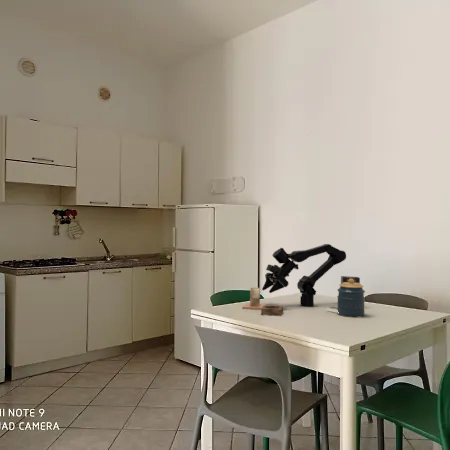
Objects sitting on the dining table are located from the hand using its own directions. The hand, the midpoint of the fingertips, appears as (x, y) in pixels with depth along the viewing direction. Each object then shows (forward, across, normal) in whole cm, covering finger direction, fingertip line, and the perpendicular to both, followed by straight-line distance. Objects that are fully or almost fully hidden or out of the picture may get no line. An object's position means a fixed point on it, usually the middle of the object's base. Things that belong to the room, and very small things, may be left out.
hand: (266, 291), depth 231 cm
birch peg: (+10, 0, +1) cm, 10 cm away
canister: (-17, +27, +30) cm, 44 cm away
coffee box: (-25, +8, +38) cm, 47 cm away
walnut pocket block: (+8, +16, +4) cm, 18 cm away
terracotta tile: (+10, 0, +1) cm, 10 cm away
